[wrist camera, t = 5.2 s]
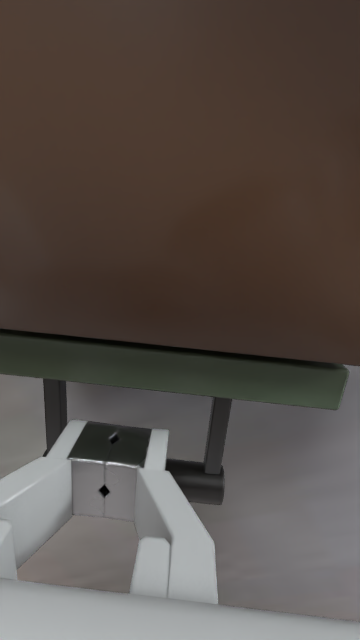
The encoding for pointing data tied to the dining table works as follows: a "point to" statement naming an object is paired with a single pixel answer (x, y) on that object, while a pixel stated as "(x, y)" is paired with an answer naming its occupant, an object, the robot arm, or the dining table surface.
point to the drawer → (170, 386)
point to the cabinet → (183, 173)
